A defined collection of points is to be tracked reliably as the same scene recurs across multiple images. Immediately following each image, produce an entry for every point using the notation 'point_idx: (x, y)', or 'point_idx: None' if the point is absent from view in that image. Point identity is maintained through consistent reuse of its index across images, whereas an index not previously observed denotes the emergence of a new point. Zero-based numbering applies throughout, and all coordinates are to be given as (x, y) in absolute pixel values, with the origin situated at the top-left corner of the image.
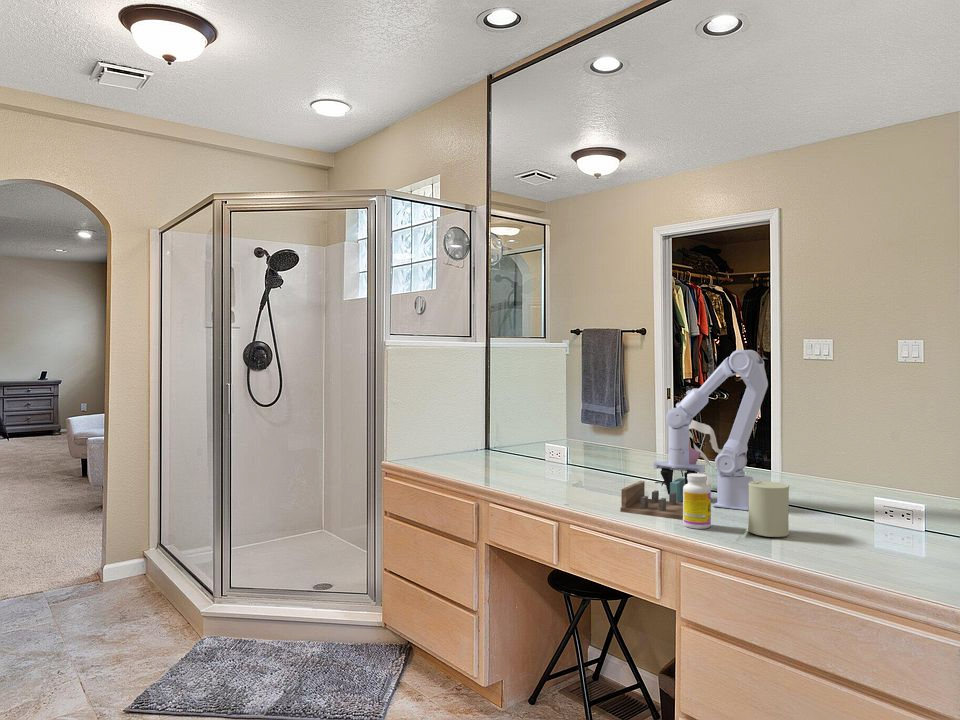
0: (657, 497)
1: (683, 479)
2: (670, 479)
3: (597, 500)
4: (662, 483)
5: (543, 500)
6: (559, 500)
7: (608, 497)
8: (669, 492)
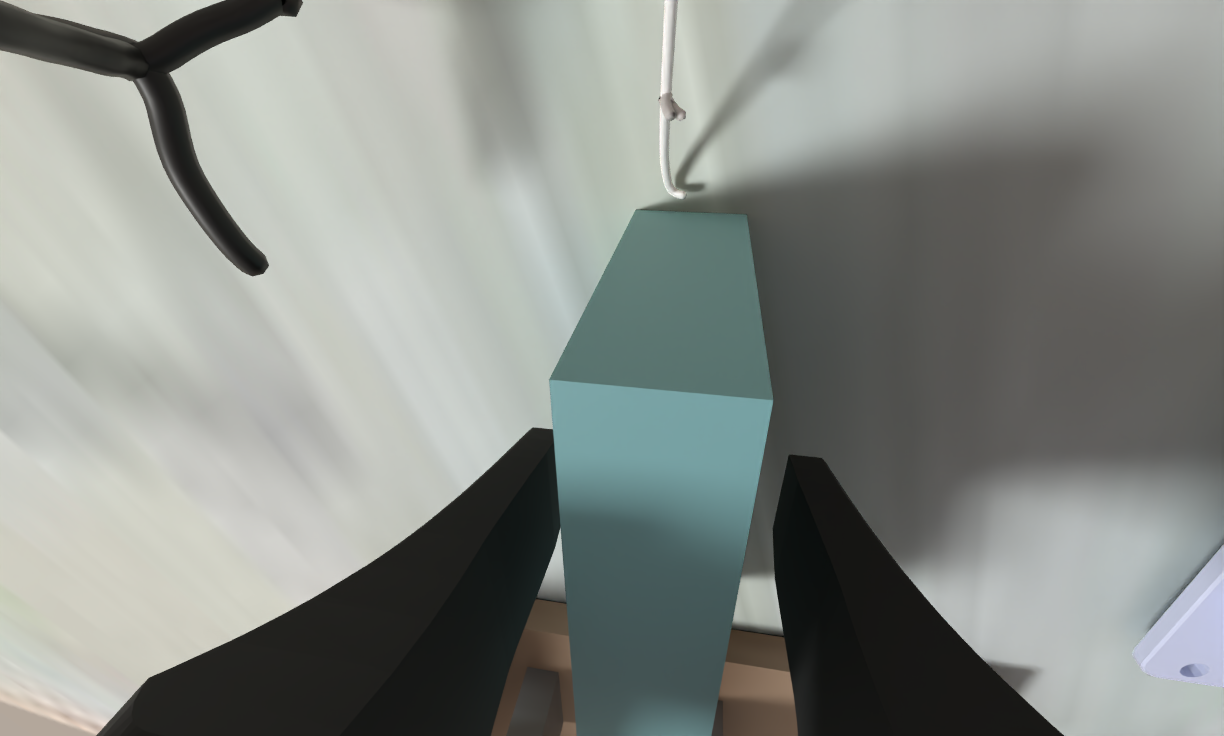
0: (549, 732)
1: (705, 573)
2: (477, 677)
3: (169, 631)
4: (198, 213)
5: (26, 690)
6: (61, 676)
7: (122, 536)
8: (552, 532)
